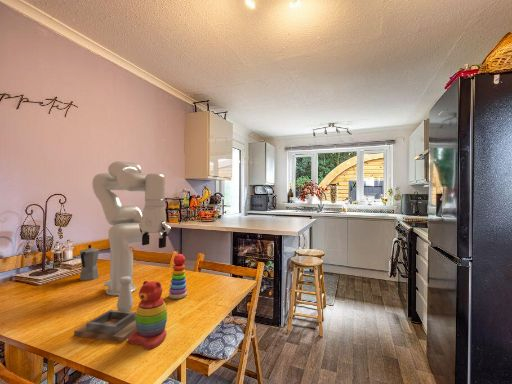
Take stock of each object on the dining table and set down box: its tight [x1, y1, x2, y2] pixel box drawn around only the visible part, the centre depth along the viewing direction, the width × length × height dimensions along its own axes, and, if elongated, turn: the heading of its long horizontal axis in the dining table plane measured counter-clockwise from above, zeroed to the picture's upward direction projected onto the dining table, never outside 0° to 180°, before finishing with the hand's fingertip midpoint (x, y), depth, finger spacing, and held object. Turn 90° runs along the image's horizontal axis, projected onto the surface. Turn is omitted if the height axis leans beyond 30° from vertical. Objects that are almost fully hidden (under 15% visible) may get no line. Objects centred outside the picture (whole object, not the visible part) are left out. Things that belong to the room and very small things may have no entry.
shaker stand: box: [73, 309, 137, 343], centre depth 90 cm, size 18×12×4 cm, turn 78°
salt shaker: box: [116, 276, 134, 312], centre depth 105 cm, size 6×6×13 cm
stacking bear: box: [127, 280, 168, 350], centre depth 85 cm, size 11×10×18 cm
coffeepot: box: [79, 244, 100, 282], centre depth 144 cm, size 15×9×18 cm, turn 9°
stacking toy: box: [168, 253, 188, 300], centre depth 120 cm, size 8×8×19 cm
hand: (153, 246), depth 109 cm, fingers open, 9 cm apart
